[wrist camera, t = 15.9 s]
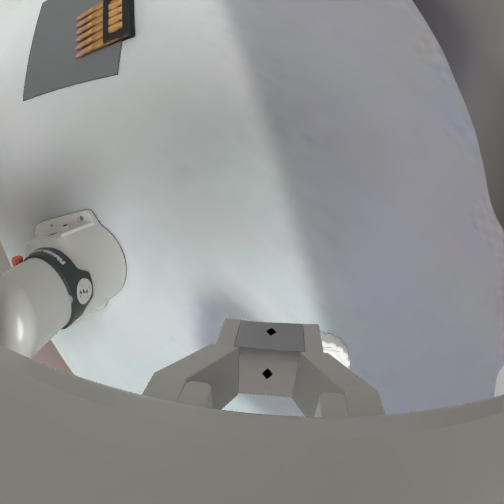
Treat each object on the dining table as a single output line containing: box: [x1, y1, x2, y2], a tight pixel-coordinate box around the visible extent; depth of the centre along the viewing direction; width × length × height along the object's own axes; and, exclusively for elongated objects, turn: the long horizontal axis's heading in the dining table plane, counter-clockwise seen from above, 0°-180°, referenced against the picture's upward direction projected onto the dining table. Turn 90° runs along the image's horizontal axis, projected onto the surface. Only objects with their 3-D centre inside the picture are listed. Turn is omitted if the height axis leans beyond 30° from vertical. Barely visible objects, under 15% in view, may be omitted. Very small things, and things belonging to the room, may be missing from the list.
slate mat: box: [23, 0, 122, 101], centre depth 35 cm, size 24×24×1 cm
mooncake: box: [320, 332, 350, 369], centre depth 48 cm, size 12×12×4 cm
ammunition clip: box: [75, 0, 135, 58], centre depth 34 cm, size 11×2×12 cm
